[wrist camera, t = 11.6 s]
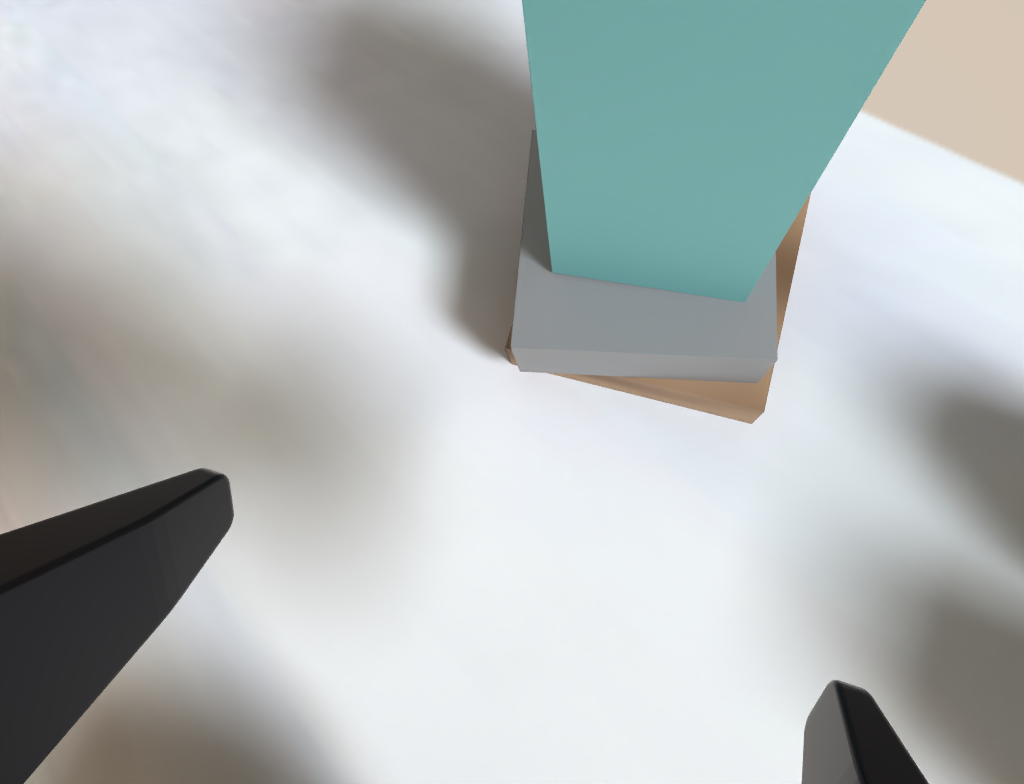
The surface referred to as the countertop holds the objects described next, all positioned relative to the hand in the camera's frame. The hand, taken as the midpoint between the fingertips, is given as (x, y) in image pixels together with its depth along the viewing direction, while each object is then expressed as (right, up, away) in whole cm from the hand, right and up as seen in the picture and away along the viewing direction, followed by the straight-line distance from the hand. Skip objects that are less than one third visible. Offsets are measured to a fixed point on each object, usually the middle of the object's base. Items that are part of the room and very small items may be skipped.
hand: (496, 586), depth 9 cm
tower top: (+5, +7, +14) cm, 16 cm away
